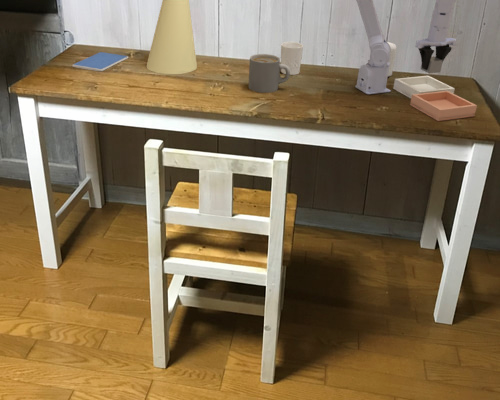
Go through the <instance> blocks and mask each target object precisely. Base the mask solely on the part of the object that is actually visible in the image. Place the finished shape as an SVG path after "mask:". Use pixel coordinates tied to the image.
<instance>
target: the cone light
mask: <svg viewBox="0 0 500 400" xmlns="http://www.w3.org/2000/svg"><path fill="white" fill-rule="evenodd" d="M190 6H191V5H190V0H162V1H161V6H160V9H159V14H158V19H157V22H156V26H155V30H154V34H153V37H152V42H151V46H150V50H149V54H148V58H147V62H146V68H147V70H148V71H150V72H152V73H157V74H160V75H161V74H162V75H183V74H189V73H191V72H194V71H195V70H197V67H198V64H197V56H196V48H195V41H194V40H195V39H194V31H193V24H192V15H191V7H190Z"/></svg>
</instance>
